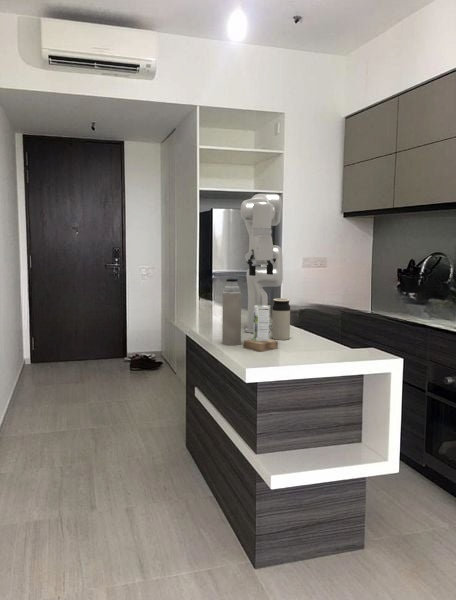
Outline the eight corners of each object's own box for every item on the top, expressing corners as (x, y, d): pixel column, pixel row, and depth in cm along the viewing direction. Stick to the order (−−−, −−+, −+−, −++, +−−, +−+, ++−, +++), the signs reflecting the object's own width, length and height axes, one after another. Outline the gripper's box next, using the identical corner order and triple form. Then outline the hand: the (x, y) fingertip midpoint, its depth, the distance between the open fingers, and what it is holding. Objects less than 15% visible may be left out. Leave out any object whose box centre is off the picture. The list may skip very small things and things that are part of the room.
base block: (261, 344, 228) (261, 337, 228) (277, 348, 221) (277, 341, 220) (243, 347, 222) (243, 340, 222) (259, 351, 214) (259, 344, 214)
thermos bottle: (226, 341, 236) (226, 278, 233) (243, 342, 233) (243, 278, 230) (219, 344, 228) (220, 279, 225) (237, 345, 226) (238, 279, 223)
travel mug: (293, 339, 242) (293, 299, 239) (279, 340, 237) (279, 300, 235) (282, 336, 248) (283, 298, 246) (268, 337, 244) (269, 298, 242)
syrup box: (252, 339, 224) (253, 305, 222) (266, 339, 224) (267, 305, 223) (254, 342, 218) (255, 306, 217) (269, 341, 219) (269, 306, 217)
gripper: (270, 233, 225) (270, 273, 227) (239, 232, 214) (239, 275, 216) (283, 233, 219) (282, 274, 221) (252, 232, 208) (251, 276, 210)
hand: (261, 275), depth 219 cm, fingers open, 9 cm apart
